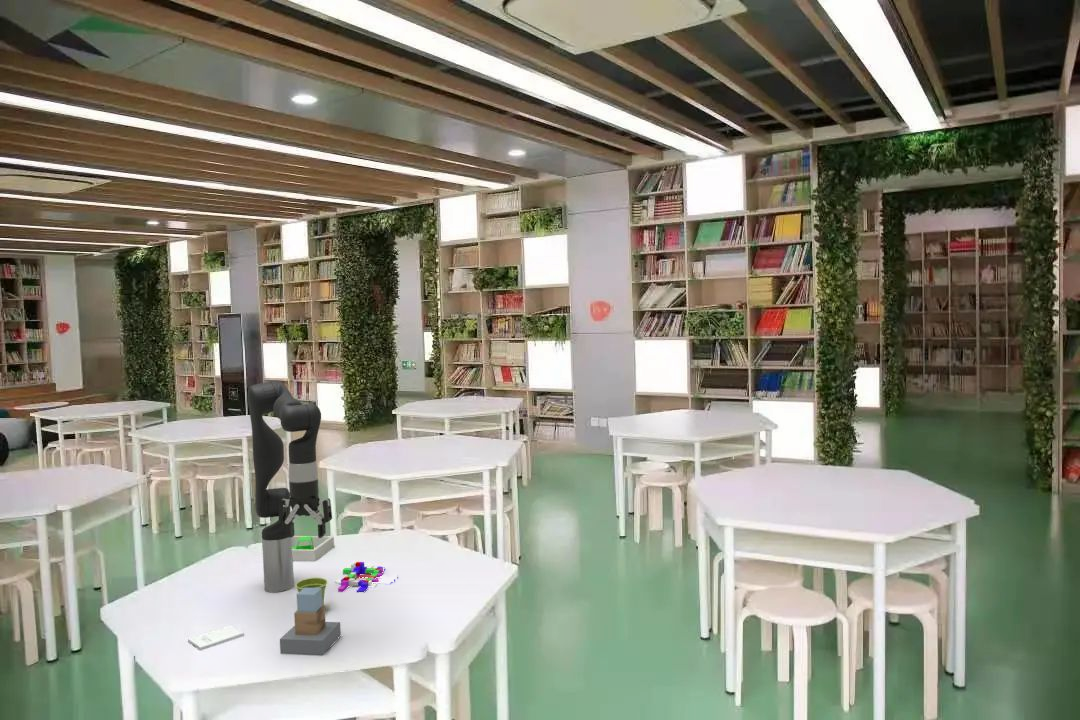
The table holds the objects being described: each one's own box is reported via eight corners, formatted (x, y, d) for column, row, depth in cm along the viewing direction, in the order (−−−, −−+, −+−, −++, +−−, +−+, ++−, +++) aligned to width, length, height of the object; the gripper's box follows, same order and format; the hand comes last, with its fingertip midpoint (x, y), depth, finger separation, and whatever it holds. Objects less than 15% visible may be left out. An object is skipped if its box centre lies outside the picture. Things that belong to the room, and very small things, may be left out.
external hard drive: (244, 637, 219) (200, 652, 210) (231, 629, 224) (187, 643, 215) (244, 632, 218) (199, 646, 210) (231, 624, 224) (187, 638, 215)
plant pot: (330, 603, 241) (328, 576, 241) (327, 615, 232) (325, 587, 231) (299, 606, 240) (297, 579, 239) (294, 618, 230) (293, 589, 230)
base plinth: (300, 634, 218) (299, 620, 218) (340, 636, 217) (340, 622, 216) (280, 653, 206) (279, 638, 206) (322, 655, 205) (322, 640, 204)
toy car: (314, 552, 294) (313, 535, 293) (312, 557, 287) (311, 540, 286) (284, 554, 292) (283, 537, 291) (281, 560, 285) (280, 543, 285)
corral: (291, 545, 302) (291, 535, 302) (334, 546, 299) (333, 536, 299) (270, 560, 285) (269, 549, 284) (314, 561, 282) (314, 550, 282)
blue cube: (305, 605, 214) (304, 587, 213) (322, 605, 213) (321, 587, 213) (297, 612, 209) (296, 594, 208) (315, 612, 208) (314, 594, 208)
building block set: (385, 594, 249) (384, 581, 249) (324, 593, 251) (323, 580, 251) (407, 568, 274) (407, 556, 273) (351, 567, 276) (351, 555, 276)
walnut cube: (305, 625, 215) (304, 604, 214) (325, 626, 214) (324, 605, 213) (295, 634, 209) (294, 613, 208) (316, 635, 208) (315, 613, 207)
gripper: (334, 475, 211) (336, 533, 212) (285, 474, 213) (287, 532, 214) (322, 481, 204) (325, 541, 205) (272, 481, 206) (275, 540, 207)
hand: (306, 536), depth 209 cm, fingers open, 8 cm apart
